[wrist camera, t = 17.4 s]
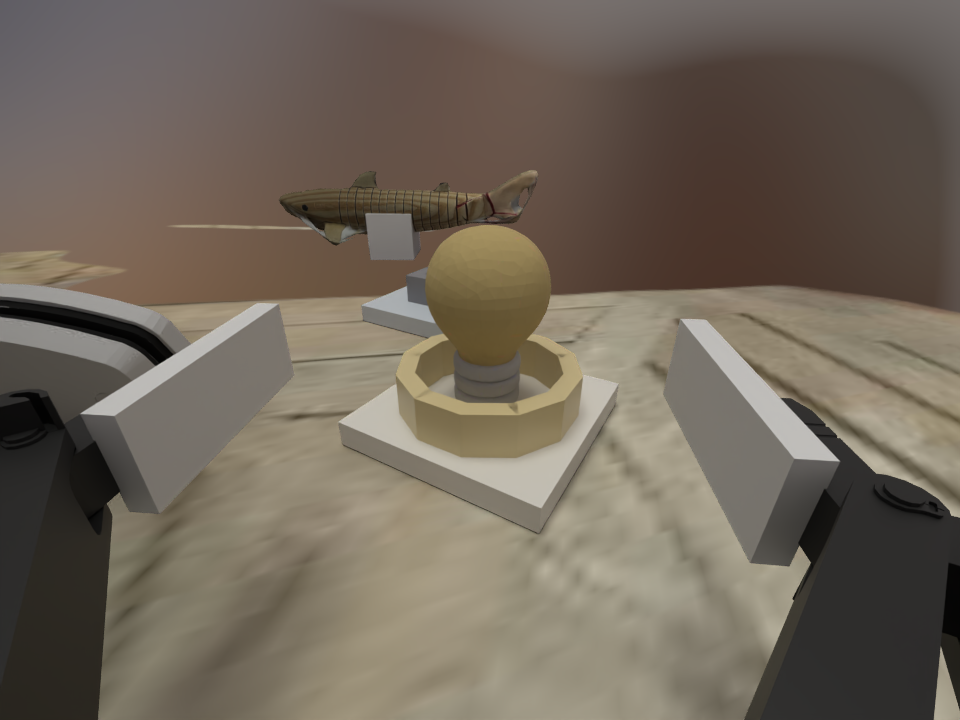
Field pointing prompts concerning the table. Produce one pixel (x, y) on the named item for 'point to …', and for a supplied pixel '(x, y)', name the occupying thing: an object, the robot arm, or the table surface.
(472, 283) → the light bulb
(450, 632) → the table surface
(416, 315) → the square socket
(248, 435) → the table surface
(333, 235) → the wood carving
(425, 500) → the table surface
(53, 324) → the white curved block
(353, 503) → the table surface
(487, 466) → the round socket
